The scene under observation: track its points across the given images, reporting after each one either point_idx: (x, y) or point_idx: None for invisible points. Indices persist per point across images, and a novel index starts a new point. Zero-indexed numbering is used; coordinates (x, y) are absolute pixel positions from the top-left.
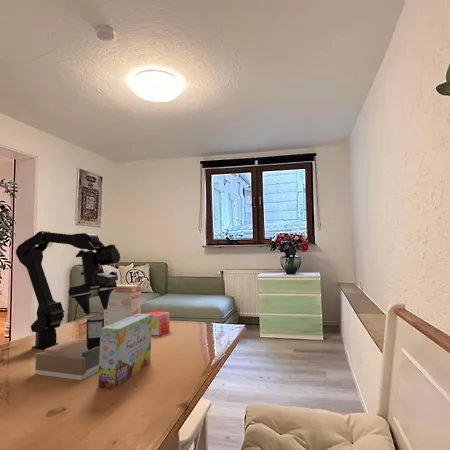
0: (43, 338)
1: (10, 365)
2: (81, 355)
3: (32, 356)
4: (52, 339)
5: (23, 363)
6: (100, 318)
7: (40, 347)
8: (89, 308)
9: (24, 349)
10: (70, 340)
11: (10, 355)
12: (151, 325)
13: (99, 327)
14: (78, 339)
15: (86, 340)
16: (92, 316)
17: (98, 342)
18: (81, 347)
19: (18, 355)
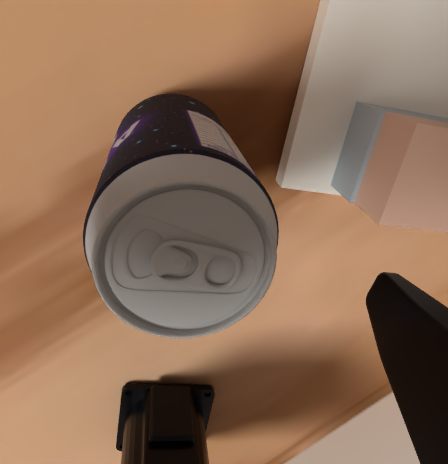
0: (204, 446)
1: None
2: (408, 112)
3: (304, 369)
4: (182, 413)
5: None
6: (221, 169)
7: (204, 415)
8: (437, 317)
9: (213, 454)
10: (432, 224)
11: (293, 441)
12: None
13: (224, 142)
14: (411, 187)
15: (417, 122)
16: (240, 273)
17: (213, 115)
18: (439, 122)
19: (292, 420)
